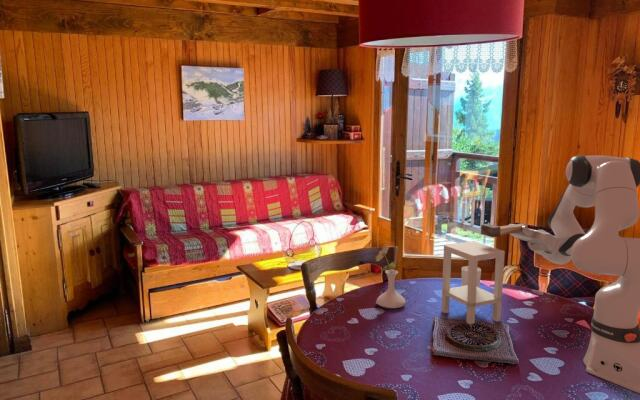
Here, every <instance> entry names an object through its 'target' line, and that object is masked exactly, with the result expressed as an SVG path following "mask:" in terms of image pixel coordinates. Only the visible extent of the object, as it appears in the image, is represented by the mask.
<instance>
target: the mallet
mask: <svg viewBox="0 0 640 400" xmlns="http://www.w3.org/2000/svg"><path fill="white" fill-rule="evenodd" d="M514 224H515V225H509V224H508V225H500V226H498V225H494V224H492V223H491V224H490V223H484V224H480V234H481V235H484V236H487V237H490V238H498V237H501V236H504V235H511V234H512V233H519V232H522V231H521V227H522V226H523V227H526V228H528V227H529V226H528V224H525V223H517V224H516V223H514ZM528 229H529V228H528Z"/></svg>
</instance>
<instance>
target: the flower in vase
mask: <svg viewBox="0 0 640 400" xmlns="http://www.w3.org/2000/svg"><path fill="white" fill-rule="evenodd" d="M389 249H390V246H389V245H388V244H386V245H384V246H382V248H381V250H379V252H378V254H377V255H376V256H375V261H376V262H379V261H381V260H382V259H383V258H384V257H385V259H386V263H387V265H385V266H383V267H382V269H381V272H385V274H386V275H387V279H388V286H387V289H386V290H385V291H384V292H383V293H381V294H380V295H379V296H378V297H377V299H376V300H375V301H376V303H377V305H379V306H380V307H383V308H386V309H398V308H402V307H404V306H405V305H406V302H407V301H406V299H405V297H404V296H402V295H401V294H400V293H398V292H397V290H396V289H395V280H396V276H397V275H398V273H399V271H398V270H395V268H396V261H395V260H394V261H391V263H389V261H388V258H387V256H386V254H387V253H388V250H389Z"/></svg>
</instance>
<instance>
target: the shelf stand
mask: <svg viewBox="0 0 640 400" xmlns="http://www.w3.org/2000/svg"><path fill="white" fill-rule="evenodd" d="M505 252H506V251H505V250H501V249H499V248H497V247H493V246H489V245H486V244H484V243H480V242H478V241H475V240H473V241H472V240H471V241H465V242H457V243H450V244H448V243H447V244H444V245H443V257H442V259H443V261H442V262H443V263H442V285H441V287H442V288H441V289H442V290H441V313H443V314H449V313H450V299H453V300H455V301H456V302H458V303H461V304H463V305H465V306H466V319H465V320H466V322H467V323H469V324H471V323H475V321H476V308H477V307H482V306H487V305H492V304H493V305H492V321H494V322H501V320H502V319H501V318H502V305H503V284H504V269H505V268H504V267H505V254H506V253H505ZM452 254H453V255H455V256H458V257H460V258H463V259H465V260H468V263H467V264H468V265H467V266H468V285H465V286H462V285H461V286H455V287H451V275H452V273H451V270H452ZM491 259H495V263H494V264H495V266H494V284H493V285H494V286H493V293H492V292H489V291H487V290H485V289H483V288H480V286H479V287H476V286H477V267H478V264H479V263H478V262H479V261H485V260H486V261H487V260H491ZM466 322H465V323H466Z"/></svg>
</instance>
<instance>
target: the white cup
mask: <svg viewBox="0 0 640 400" xmlns="http://www.w3.org/2000/svg"><path fill="white" fill-rule="evenodd" d="M481 274H482V269H481V268H480V267H478V266H477V286H476V287H479V288H480V283H481ZM465 285H468V265H465V266H461V286H465Z"/></svg>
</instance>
